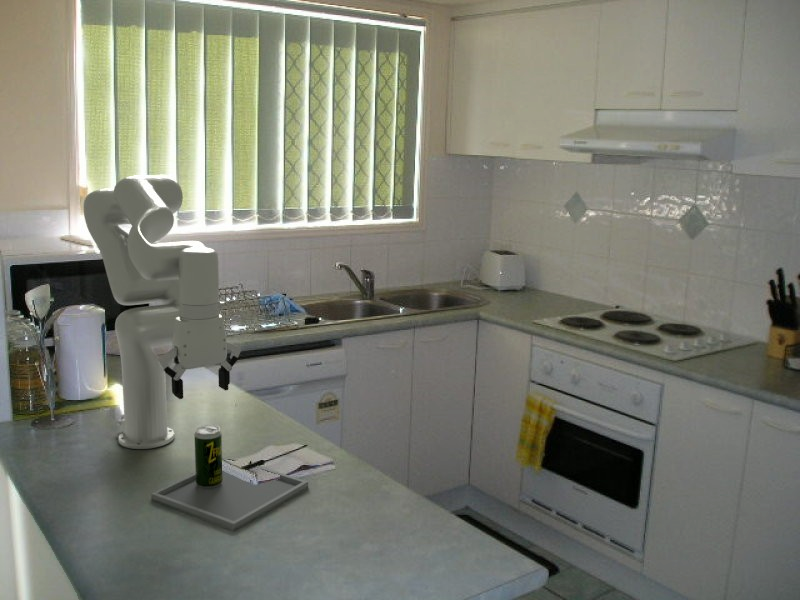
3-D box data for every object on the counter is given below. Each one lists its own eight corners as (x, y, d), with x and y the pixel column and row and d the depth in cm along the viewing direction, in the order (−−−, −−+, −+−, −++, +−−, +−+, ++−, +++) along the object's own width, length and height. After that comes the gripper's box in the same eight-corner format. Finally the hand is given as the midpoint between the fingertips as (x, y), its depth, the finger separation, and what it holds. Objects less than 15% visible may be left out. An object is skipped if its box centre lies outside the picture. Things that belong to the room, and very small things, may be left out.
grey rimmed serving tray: (151, 500, 164) (151, 493, 164) (229, 463, 182) (228, 456, 182) (234, 531, 153) (234, 523, 153) (308, 488, 171) (308, 481, 171)
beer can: (190, 486, 170) (188, 430, 167) (208, 476, 174) (206, 422, 172) (210, 492, 167) (208, 436, 164) (228, 482, 172) (226, 428, 169)
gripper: (231, 301, 171) (232, 380, 175) (149, 311, 161) (152, 395, 165) (248, 309, 166) (248, 390, 170) (164, 320, 155) (167, 406, 159)
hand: (201, 392), depth 167 cm, fingers open, 9 cm apart
